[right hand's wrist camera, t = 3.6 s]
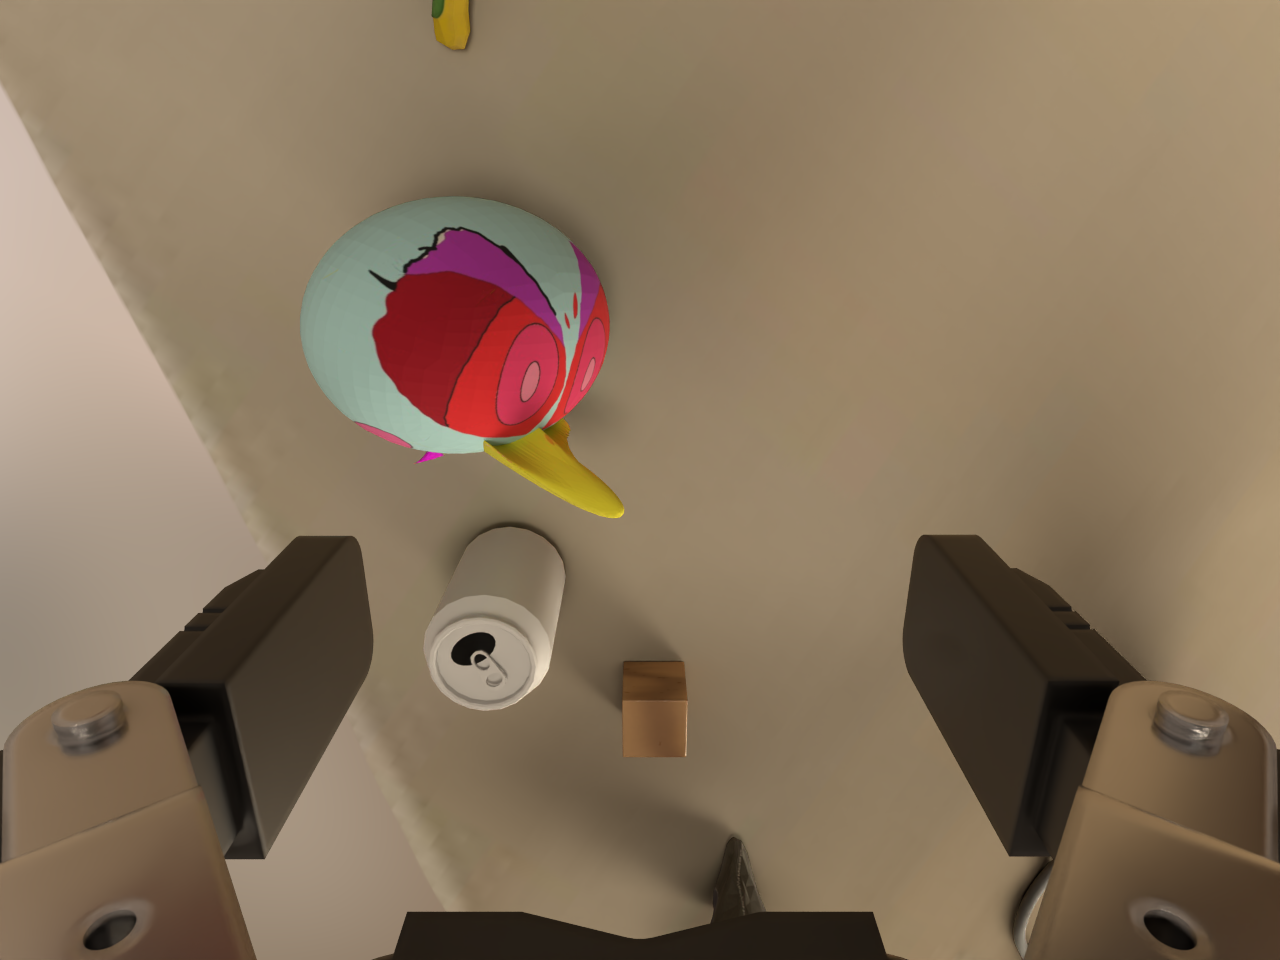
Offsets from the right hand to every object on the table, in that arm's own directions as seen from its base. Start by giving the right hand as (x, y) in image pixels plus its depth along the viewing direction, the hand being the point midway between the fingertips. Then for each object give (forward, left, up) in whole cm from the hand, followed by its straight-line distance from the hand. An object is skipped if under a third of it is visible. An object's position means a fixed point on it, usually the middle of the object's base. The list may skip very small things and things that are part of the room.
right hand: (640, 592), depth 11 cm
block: (+30, +1, -39) cm, 50 cm away
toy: (+3, -8, -39) cm, 40 cm away
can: (+20, -9, -39) cm, 45 cm away
